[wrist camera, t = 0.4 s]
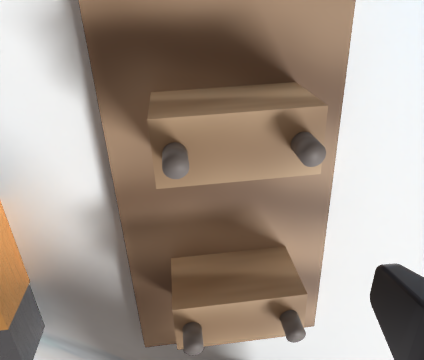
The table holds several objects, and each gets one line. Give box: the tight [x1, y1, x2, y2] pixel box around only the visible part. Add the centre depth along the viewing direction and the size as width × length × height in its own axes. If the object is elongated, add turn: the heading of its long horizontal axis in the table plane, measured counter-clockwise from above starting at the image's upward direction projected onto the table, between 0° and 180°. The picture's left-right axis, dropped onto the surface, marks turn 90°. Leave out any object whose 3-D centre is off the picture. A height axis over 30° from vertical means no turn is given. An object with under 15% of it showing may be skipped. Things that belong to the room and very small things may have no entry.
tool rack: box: [78, 0, 356, 355], centre depth 19 cm, size 22×12×6 cm, turn 2°
